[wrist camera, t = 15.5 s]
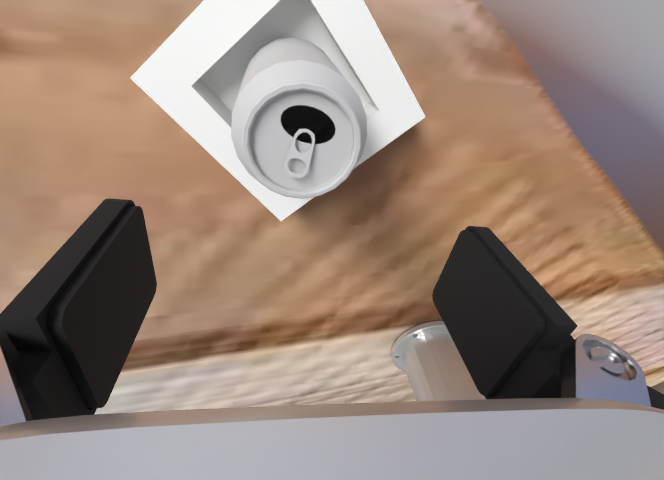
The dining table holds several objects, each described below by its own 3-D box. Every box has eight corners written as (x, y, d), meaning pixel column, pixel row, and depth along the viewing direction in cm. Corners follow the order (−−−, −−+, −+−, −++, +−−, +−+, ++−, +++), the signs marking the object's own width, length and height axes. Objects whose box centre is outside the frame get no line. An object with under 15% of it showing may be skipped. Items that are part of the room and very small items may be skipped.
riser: (402, 98, 31) (425, 116, 26) (280, 190, 35) (281, 221, 30) (300, -86, 22) (306, -107, 18) (157, 63, 27) (130, 77, 22)
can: (353, 58, 25) (400, 100, 16) (320, 147, 29) (342, 223, 20) (256, 17, 23) (245, 38, 14) (234, 120, 27) (214, 191, 18)
